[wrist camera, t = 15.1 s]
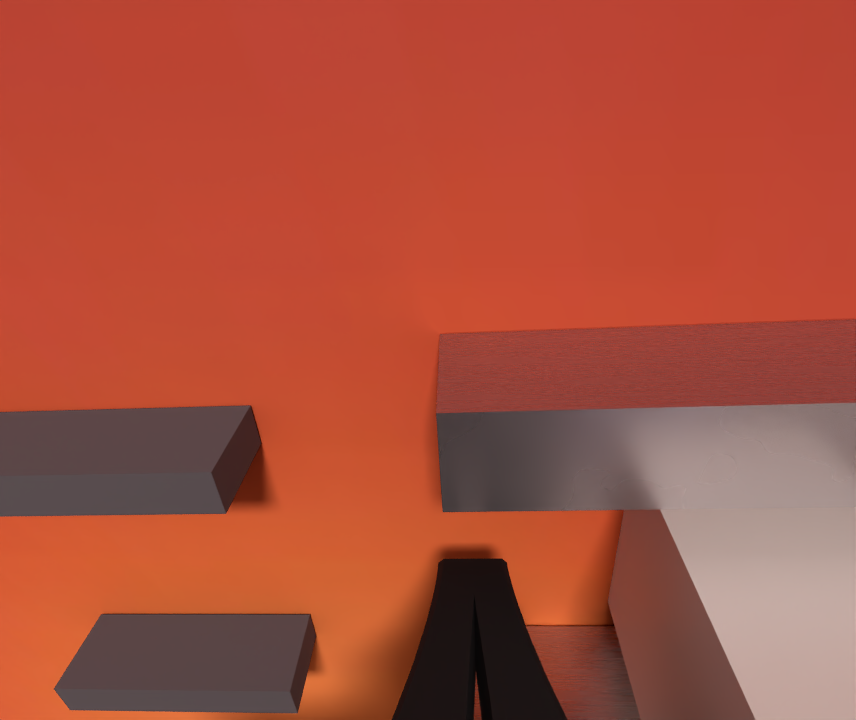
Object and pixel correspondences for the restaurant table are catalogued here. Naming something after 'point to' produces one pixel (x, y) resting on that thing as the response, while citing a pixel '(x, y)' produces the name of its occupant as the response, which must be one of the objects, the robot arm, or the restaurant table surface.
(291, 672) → the pair of grey blocks
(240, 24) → the restaurant table surface
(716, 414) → the block
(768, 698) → the plug
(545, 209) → the restaurant table surface
